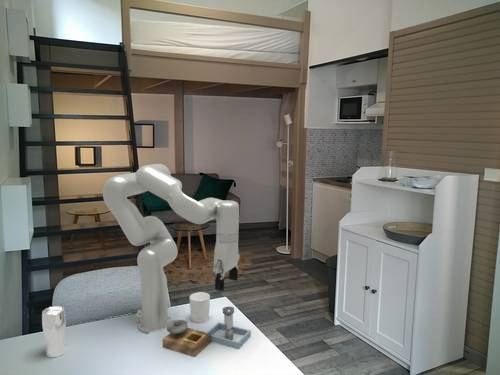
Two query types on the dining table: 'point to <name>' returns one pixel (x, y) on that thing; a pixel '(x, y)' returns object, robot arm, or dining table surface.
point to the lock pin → (228, 322)
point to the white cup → (199, 306)
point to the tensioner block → (185, 338)
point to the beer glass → (54, 330)
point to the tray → (226, 341)
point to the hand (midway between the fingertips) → (226, 284)
